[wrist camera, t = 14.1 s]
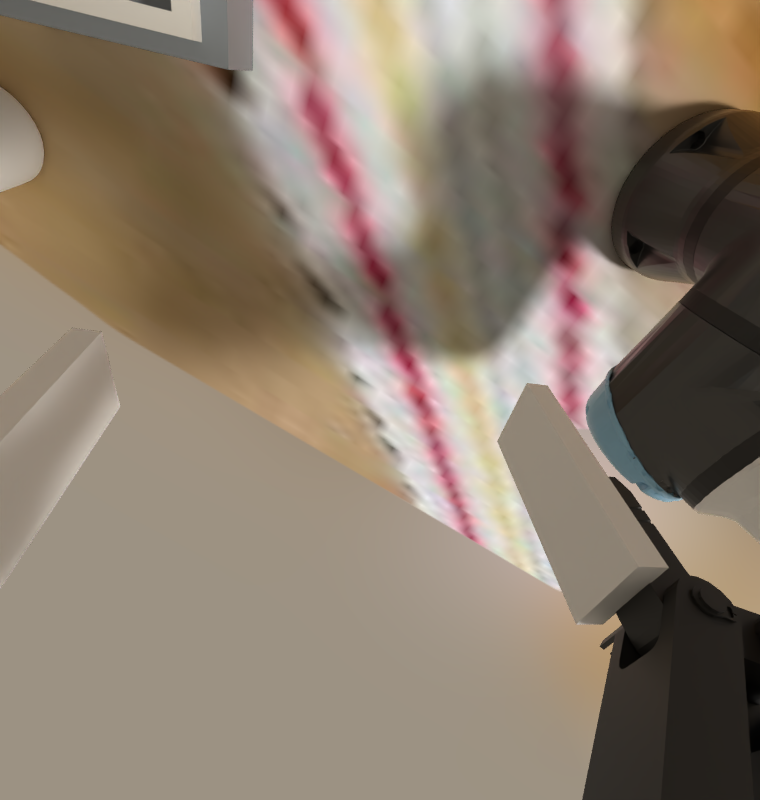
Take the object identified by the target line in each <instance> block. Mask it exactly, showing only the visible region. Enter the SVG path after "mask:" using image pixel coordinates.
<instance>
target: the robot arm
mask: <svg viewBox="0 0 760 800" xmlns="http://www.w3.org/2000/svg"><path fill="white" fill-rule="evenodd" d="M612 239H613V244H614V247H615V250H616V252H617V254H618V255H619V257H620V258H621V260H622V261H623V262H624V263H625V264H626V265H628V266H629V267H631V268H632V269H634V270H635V271H637V272H638V273H640V274H641V275H643V276H646V277H648V278H651V279H655V280H660V281H669V282H678V283H686V284H695V285H694V286H693V287H692V288H691V289H690V290H689V291H688V293H687V294H686V295H685V296H684V297H683V298H682V299H681V300H680V301H679V302H678V303H677V304H676V305H675V306H674V307H673V308H672V309H671V310H670V311H669V312H668V313H667V314H666V315H665V316H664V317H663V318H662V319H661V320H660V322H659V323H658V324H657V325H656V326H655V327H654V328H653V329H652V330H651V331H650V332H649V333H648V334H647V335H646V336H645V337H644V338H643V339H642V340H641V341H640V342H639V343H638V344H637V345H636V346H635V347H634V348H633V349H632V350H631V352H630V353H629V354H628V355H627V356H626V357H625V358H624V359H623V360H622V361H621V362H620V363H619V364H618V365H616V366H615V367H613V368H612V369H611V370H610V371H609V372H608V374H607V376H606V379H605V380H604V381H603V382H602V383H601V384H600V386H599V387H598V388H597V389H596V390H595V391H594V392H593V394H592V395H591V396H590V398H589V399H588V401H587V404H586V415H587V416H586V420H587V424H588V427H589V430H590V432H591V434H592V436H593V438H594V440H595V442H596V443H597V445H598V446H599V448H600V450H601V451H602V452H603V454H604V455H605V456H606V458H607V459H608V460H609V461H610V463H611V464H612V465H613V466H614V467H615V468H616V469H617V470H618V471H619V472H620V474H621V475H623V476H624V477H625V478H626V479H627V480H628V481H629V482H630V483H636V484H637V486H638V487H639V489H640V490H641V491H642V492H644V493H645V494H647V495H648V496H650V497H652V498H654V499H657V500H661V501H663V502H672V501H679V500H682V499H684V500H685V502H686V503H688V505H690V506H691V507H692V508H693V509H694V510H695V511H696V512H697V513H699V514H705V515H712V516H718V517H724V518H728V519H730V520H733V521H736V522H737V523H738V524H739V525H740V526H741V527H742V528H743V529H744V530H745V531H746V532H747V533H749V534H750V535H751V536H752V537H753V538H754V539H755V540H756V541H757V542H758V543H760V112H756V111H749V110H739V109H719V110H714V111H710V112H706V113H703V114H700V115H698V116H696V117H693V118H691V119H689V120H687V121H685V122H684V123H682V124H680V125H679V126H677V127H675V128H674V129H673V130H671V131H670V132H668V133H667V134H666V135H665V136H663V137H662V138H661V139H660V140H659V141H658V142H656V143H655V144H654V145H653V146H652V147H651V148H650V149H649V150H648V151H647V153H646V154H645V155H644V156H643V157H642V158H641V160H640V161H639V162H638V163H637V165H636V166H635V167H634V169H633V170H632V172H631V173H630V175H629V177H628V178H627V180H626V182H625V184H624V186H623V188H622V190H621V192H620V194H619V197H618V199H617V202H616V206H615V209H614V214H613V219H612ZM119 408H120V404H119V399H118V395H117V392H116V387H115V383H114V379H113V375H112V371H111V367H110V363H109V359H108V354H107V350H106V346H105V343H104V338H103V334H102V331H94V330H85V329H77V328H71V329H70V330H69V331H68V332H67V333H66V334H65V335H64V336H63V337H61V339H59V340H58V341H57V342H56V343H55V344H54V345H53V346H52V347H51V348H50V349H49V350H48V351H47V352H46V353H45V354H44V355H42V356H41V357H40V358H39V359H38V360H37V361H36V362H35V363H34V364H33V365H32V366H31V367H30V368H29V369H28V370H27V371H26V372H25V373H24V374H22V375H21V376H20V377H19V378H18V379H17V380H16V381H15V382H14V383H13V384H12V385H11V386H10V387H9V388H8V389H7V390H6V391H5V392H4V393H3V394H2V395H0V589H1V587H2V586H3V584H4V583H5V581H6V580H7V578H8V576H9V575H10V574H11V572H12V571H13V569H14V567H15V566H16V564H17V563H18V561H19V560H20V558H21V557H22V555H23V554H24V552H25V550H26V549H27V548H28V546H29V545H30V543H31V541H32V540H33V538H34V537H35V536H36V534H37V532H38V531H39V529H40V528H41V526H42V525H43V523H44V522H45V520H46V519H47V517H48V516H49V514H50V513H51V511H52V509H53V508H54V507H55V505H56V504H57V502H58V501H59V499H60V497H61V496H62V494H63V493H64V491H65V490H66V488H67V487H68V485H69V483H70V482H71V481H72V479H73V478H74V476H75V475H76V473H77V472H78V470H79V469H80V467H81V466H82V464H83V462H84V461H85V459H86V458H87V456H88V455H89V453H90V452H91V450H92V449H93V447H94V446H95V444H96V443H97V441H98V440H99V438H100V436H101V435H102V433H103V432H104V431H105V429H106V427H107V426H108V424H109V423H110V421H111V420H112V418H113V417H114V415H115V414H116V412H117V411H118V409H119ZM497 442H498V444H499V446H500V449H501V451H502V453H503V455H504V458H505V460H506V462H507V465H508V467H509V469H510V472H511V474H512V476H513V479H514V481H515V483H516V486H517V488H518V490H519V493H520V495H521V497H522V500H523V502H524V504H525V507H526V509H527V511H528V514H529V516H530V518H531V520H532V523H533V525H534V527H535V530H536V532H537V534H538V537H539V539H540V541H541V544H542V546H543V548H544V551H545V553H546V555H547V558H548V560H549V562H550V565H551V567H552V569H553V572H554V574H555V576H556V579H557V581H558V583H559V586H560V588H561V590H562V592H563V595H564V597H565V599H566V601H567V604H568V606H569V609H570V611H571V613H572V616H573V618H574V620H575V623H576V624H604V623H605V622H606V621H607V620H608V619H610V618H611V617H612V616H613V615H614V614H615V613H616V614H617V616H618V618H619V620H620V622H621V624H622V625H621V626H620V627H619V628H618V629H617V630H615V631H614V632H613V633H612V634H610V635H609V636H608V637H607V638H605V639H604V640H603V642H602V643H601V645H600V647H601V648H602V649H605V648H607V647H608V646H609V645H610V644H612V643H613V642H614V644H613V649H612V652H611V653H610V654H611V659H610V664H609V669H608V674H607V679H606V684H605V689H604V694H603V699H602V704H601V709H600V714H599V719H598V724H597V729H596V734H595V739H594V744H593V749H592V754H591V759H590V764H589V769H588V774H587V779H586V784H585V789H584V794H583V799H582V800H760V615H759V614H756V613H753V612H750V611H747V610H744V609H742V608H739V607H736V606H733V604H732V602H731V601H730V600H729V599H728V598H727V597H726V596H725V595H724V594H723V593H722V592H721V591H720V590H719V589H717V588H716V587H715V586H713V585H712V584H711V583H709V582H707V581H705V580H703V579H701V578H699V577H695V576H690V575H689V574H688V573H687V572H686V570H685V569H684V567H683V566H682V564H681V563H680V562H679V560H678V559H677V557H676V556H675V554H674V553H673V551H672V550H671V549H670V547H669V546H668V544H667V543H666V542H665V540H664V539H663V537H662V536H661V534H660V533H659V531H658V530H657V529H656V527H655V526H654V525H653V524H651V522H650V521H651V520H650V519H649V517H648V516H647V514H646V513H645V511H642V509H641V508H642V507H641V506H640V504H639V503H638V502H637V500H636V498H635V497H634V496H633V494H632V493H631V492H630V491H629V490H628V489H627V488H626V487H625V486H624V485H623V484H622V483H621V482H620V481H618V480H617V479H616V478H615V477H608V476H607V474H606V473H605V471H604V470H603V468H602V467H601V465H600V464H599V462H598V461H597V459H596V458H595V456H594V455H593V453H592V452H591V450H590V449H589V447H588V446H587V444H586V443H585V441H584V440H583V438H582V437H581V435H580V434H579V432H578V431H577V429H576V428H575V426H574V425H573V423H572V422H571V420H570V419H569V417H568V416H567V414H566V413H565V411H564V410H563V408H562V407H561V405H560V404H559V402H558V401H557V399H556V398H555V396H554V395H553V393H552V392H551V390H550V389H549V387H548V386H546V385H538V384H530V383H527V384H526V386H525V388H524V390H523V392H522V394H521V396H520V398H519V400H518V402H517V404H516V406H515V408H514V410H513V411H512V413H511V415H510V417H509V419H508V421H507V423H506V425H505V427H504V429H503V431H502V433H501V435H500V437H499V439H498V441H497Z"/></svg>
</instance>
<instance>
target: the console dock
mask: <svg viewBox="0 0 760 800" xmlns="http://www.w3.org/2000/svg"><path fill="white" fill-rule="evenodd" d="M0 15H2V16H6V17H10V18H14V19H18V20H23V21H27V22H31V23H35V24H39V25H43V26H48V27H52V28H56V29H60V30H64V31H69V32H73V33H77V34H81V35H85V36H90V37H94V38H98V39H102V40H106V41H110V42H115V43H119V44H123V45H127V46H131V47H136V48H140V49H144V50H148V51H152V52H157V53H161V54H165V55H169V56H173V57H177V58H182V59H186V60H190V61H194V62H198V63H203V64H207V65H211V66H215V67H219V68H224V69H228V70H251V71H252V69H253V0H0Z"/></svg>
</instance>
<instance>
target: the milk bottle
mask: <svg viewBox="0 0 760 800" xmlns="http://www.w3.org/2000/svg"><path fill="white" fill-rule="evenodd" d="M43 161H44V147H43V142H42V139H41V135H40V132H39V130H38V128H37V126H36V124H35V122H34V121H33V119H32V118H31V116H30V115H29V113H28V112H27V111H26V110H25V108H24V107H23V106H22V105H21V104H20V102H18V101H17V100H16V99H15V98H14V97H13V96H12V95H11V94H10V93H8V92H7V91H5V90H4V89H3V88H1V87H0V192H2V191H5V190H8V189H11V188H14V187H16V186H19V185H22V184H24V183H26V182H29V181H31V180H32V179H34V178H35V177H36V176H37V175H38V174H39V172H40V170H41V168H42V165H43Z"/></svg>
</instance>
